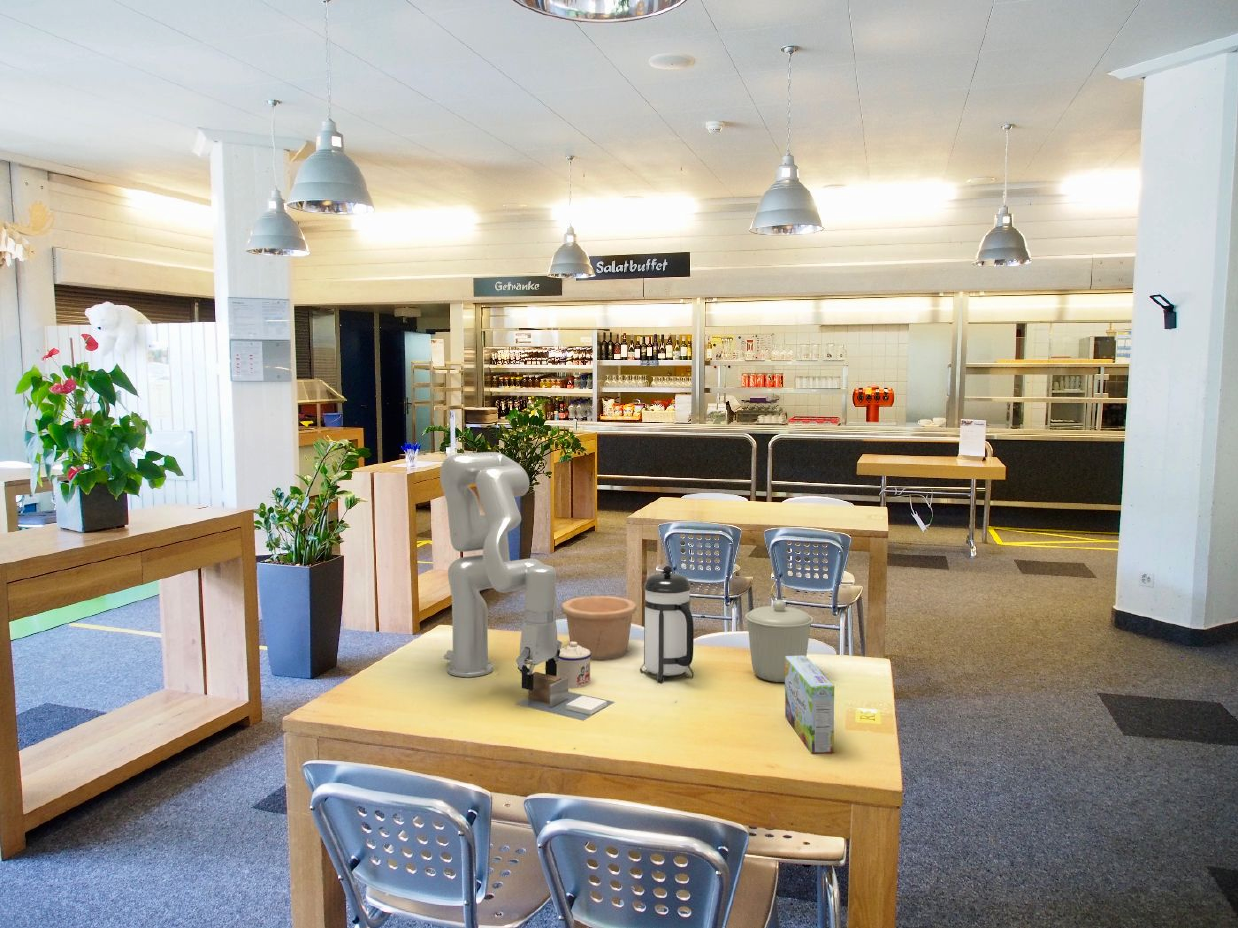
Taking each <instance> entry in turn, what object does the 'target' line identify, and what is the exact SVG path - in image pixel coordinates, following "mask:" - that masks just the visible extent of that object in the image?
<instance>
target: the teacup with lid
mask: <svg viewBox="0 0 1238 928" xmlns="http://www.w3.org/2000/svg"><path fill="white" fill-rule="evenodd" d="M590 656H591V653H590V651H589V650H588V649H586V648H583V647H581V646H579V645H577V642H570V641H569V645H566V646H565V647H561V649H560V654H559V657H558V659H559V660H558V662H556V663H557V677H562V679H564V678H566V677H568V689H577V688H578V689H579V688H584V687H586V686H589V685H590V684H591V660H590Z"/></svg>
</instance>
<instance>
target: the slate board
mask: <svg viewBox="0 0 1238 928" xmlns="http://www.w3.org/2000/svg"><path fill="white" fill-rule="evenodd" d="M581 696H587V697H591V698H596V699H600V700H605V701H607V706H605V707H604V708H602V709H600V710H598V711H597V712H595V713H593V714H592V715H589V714H584V713H580V712H576V711H572V710H567V709H566V704H568V703H570V702H571V701H573V700H575V699H577V698H579V697H581ZM614 703H615V701H613V700H607V699H603V698H600V697H595V696H592V695H591V696H589V695H585V694H581V693H576V692H572V691H568V699H566V700H564V701H562V702H560V703H559V704H557V705H555V706H553V707H550V704H548V703H544V702H540V701H535V700H531V699H528V697H526V698H524V699H522V700H520V701H518V702H516V703H515V705H517V706H521V707H525V708H530V709H533V710H538V711H542V712H546V713H550V714H554V715H559V716H563V717H566V718H570V719H575V720H578V721H586V720H587V719H589V718H591V717H592V716H593V715H596V714H597V713H599V712H600V711H603V710H604V709H606V708H608V707H609V706H610V705H612V704H614Z"/></svg>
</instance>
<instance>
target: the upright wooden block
mask: <svg viewBox="0 0 1238 928" xmlns="http://www.w3.org/2000/svg"><path fill="white" fill-rule="evenodd" d="M532 674H534V682H533V690H531V691H530V690H527V691H528V692H527V693H528V696H527V698H528V699H531V700H535V701H540V702H544V703H548V704H550V707H553V706H555V705H557V704H559V703H560V702H562V701H564V700H566V699H568V692H569V688H568V677H566V678H564V679H562V677H557V676H553V675H548V674H545V673H542V672H538V671H535V672H532Z"/></svg>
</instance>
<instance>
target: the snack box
mask: <svg viewBox="0 0 1238 928" xmlns="http://www.w3.org/2000/svg"><path fill="white" fill-rule="evenodd" d="M784 690H785V691H784V696H785V697H784V699H785V700H784V709H785V710H784V711H785V712H784V714H785V715H784V716H785V718H786V720H787V721H788V722H789V724H790V725H791V728H793V730H794V731H795V733H796V734H797V736H798V737H799V738H800V740H801V741H802V743H803V744H804V746H805V747H806V749H807V750H808V751H809V753H810V754H811V755H813V754H831V753H835V752H834V751H835V750H834V742H835V741H834V737H835V736H834V735H835V734H834V733H835V732H834V731H835V730H834V729H835V727H834V726H835V719H834V718H835V685H834V684H833V683H832V682H831V681H830V680H829V679H828V678H827V677H826V676H825V675H824V674H823V672H822V671H820V670H819V668H818V667H817V666H816V665H815V664H814V663H813V662H812V661H811V660H810V659H809V658H808V657H807V655H806V656H785V682H784Z"/></svg>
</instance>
